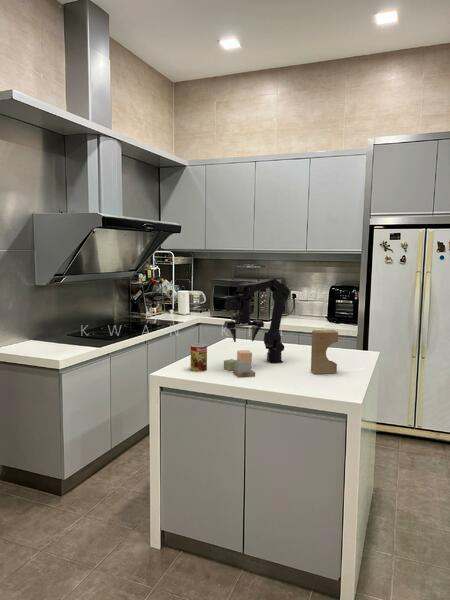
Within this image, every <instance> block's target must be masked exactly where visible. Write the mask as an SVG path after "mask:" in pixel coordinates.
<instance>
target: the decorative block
mask: <svg viewBox="0 0 450 600" xmlns="http://www.w3.org/2000/svg"><path fill="white" fill-rule="evenodd" d="M338 342H339V332H338V330H334V329H319V330H318V329H317V330H316V329H314V330H312V332H311V351H310V352H311V358H310V359H311V360H310V372H311V373H312V374H314V375H331V374H332V375H334V374H337V373H338V369H337V368H338V364H337V362H335V361H333V360H329V358H328V357H327V350H328V348H329V347H330V346H332V344H333V343H338Z"/></svg>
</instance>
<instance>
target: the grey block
mask: <svg viewBox="0 0 450 600" xmlns="http://www.w3.org/2000/svg"><path fill="white" fill-rule="evenodd" d="M234 360H235V370H236V371H237V372H238V373H245V372H251V370H252V363H240V362H239V361H238V360H237V359H234Z"/></svg>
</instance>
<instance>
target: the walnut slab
mask: <svg viewBox="0 0 450 600" xmlns="http://www.w3.org/2000/svg"><path fill="white" fill-rule="evenodd" d="M232 373H233V375H235V377H236V378H239V379H240V378H255V377H256V371H254V370H253V369H251V372H245V373H238V372H237V371H236V370H235V369H233V371H232Z"/></svg>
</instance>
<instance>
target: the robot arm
mask: <svg viewBox="0 0 450 600" xmlns="http://www.w3.org/2000/svg"><path fill="white" fill-rule="evenodd" d="M266 289H269V291H270V292H271V293H272V299H273V302H274V303H273V308H272V314H271V320H270V324H269V330H267V331H266V332H264V337H263V343H264V346H265V349H266V350H267V352H266V353H267V354H266V361H267V362H268V363H271V364H275V363H277V364H278V363H283V361H282V352H283V351H284V350H285V345H284V344H283V343H282V336H281V333H280V329H281V322H282V317H283V310H284V306H285V303H286V302H287V300H288V299H289V296H290V293H291V292H290V291H291V290H290V289H289V288H288V286H286V285H285V284H283V283H281V282H279V280H278V279H276V278H267V279H263V280H260V281H256V282H253V283H252V282H251V283H239V284H238V285H237V287H236V290H235V291H234V293H233V294H232V296H227V299H226V300H225V301H224V306H223V307H224V309H225V311H227V312H236V311H237V314H236V313H231V315H230V318H231V320H225V321H224V323H223V326H224V328H226V329H228V330H229V331H230V334H231V336H232V339H233V343H236V342H237V329H236V327H247V326H249V327H251V342H254V341H255V339H256V337H257V335H258V332H259V331H260V330H261V329H262V328H265V322H264V321H263V320H261V319H253V320H252V321H251V315H252V312H251V301H254V300H255V299H254V297H252V296H253V295H254V294H255V293H257V292H259V291H262V290H266Z"/></svg>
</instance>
